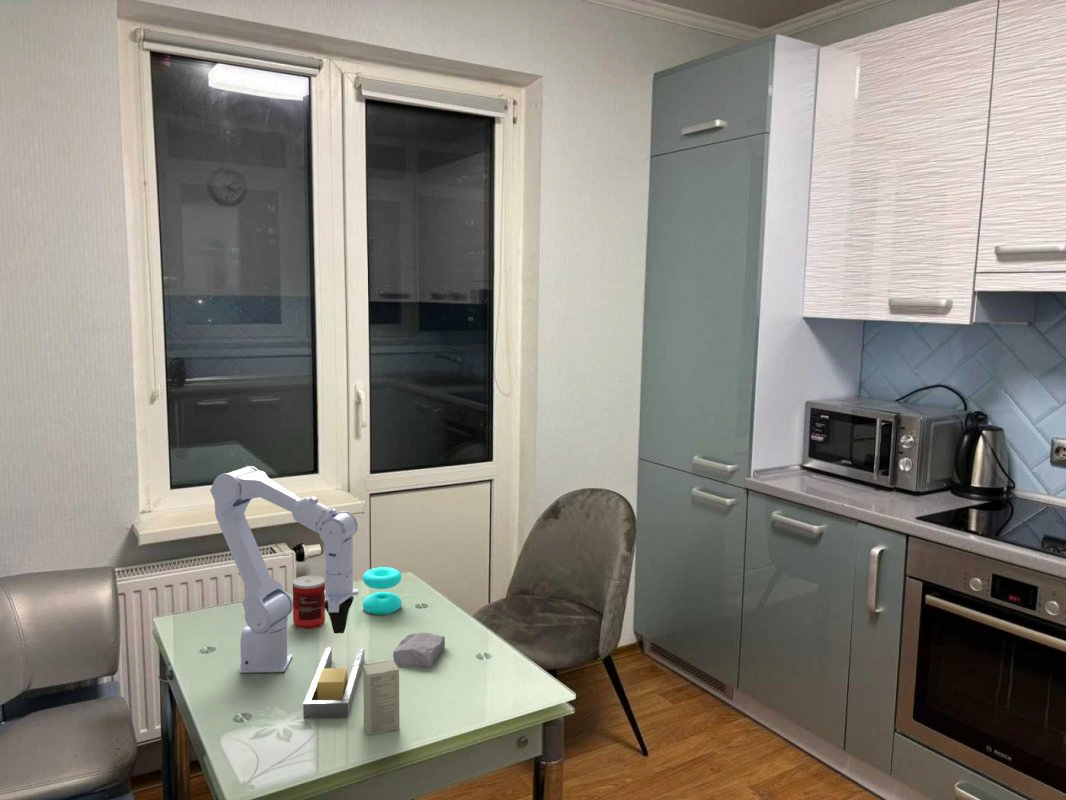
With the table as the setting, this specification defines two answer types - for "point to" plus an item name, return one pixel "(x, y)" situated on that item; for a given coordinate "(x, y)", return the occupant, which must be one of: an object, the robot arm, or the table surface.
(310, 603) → the canned food
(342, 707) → the chute
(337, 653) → the table surface
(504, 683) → the table surface
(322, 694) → the block
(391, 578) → the donuts
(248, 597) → the robot arm
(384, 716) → the skincare box
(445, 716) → the table surface
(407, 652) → the stone block
